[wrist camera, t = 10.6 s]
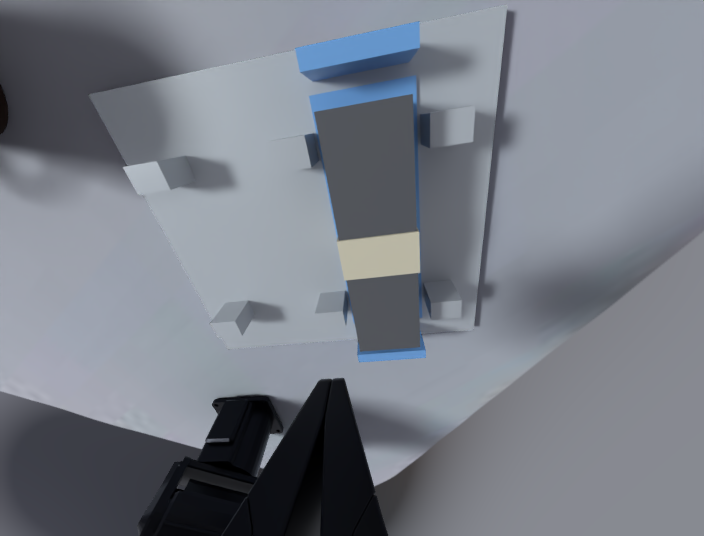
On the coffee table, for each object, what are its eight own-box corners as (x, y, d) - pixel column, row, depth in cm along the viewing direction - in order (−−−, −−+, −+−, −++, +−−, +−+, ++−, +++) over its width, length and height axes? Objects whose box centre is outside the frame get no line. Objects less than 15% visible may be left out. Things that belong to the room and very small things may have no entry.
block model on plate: (471, 325, 22) (488, 359, 19) (230, 344, 24) (211, 377, 21) (501, 9, 12) (548, -30, 9) (97, 95, 15) (26, 88, 12)
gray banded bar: (412, 308, 20) (422, 348, 17) (359, 313, 21) (358, 352, 17) (402, 100, 14) (415, 93, 10) (324, 114, 14) (311, 112, 10)
